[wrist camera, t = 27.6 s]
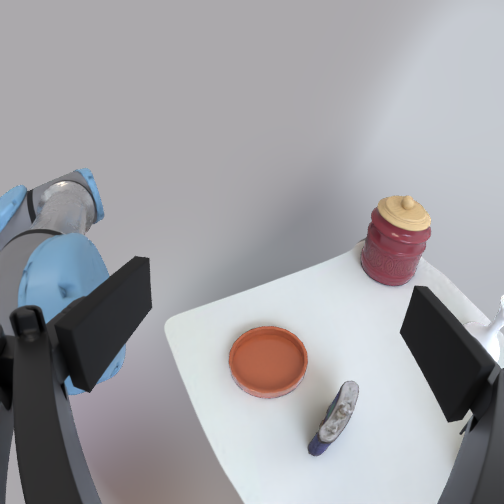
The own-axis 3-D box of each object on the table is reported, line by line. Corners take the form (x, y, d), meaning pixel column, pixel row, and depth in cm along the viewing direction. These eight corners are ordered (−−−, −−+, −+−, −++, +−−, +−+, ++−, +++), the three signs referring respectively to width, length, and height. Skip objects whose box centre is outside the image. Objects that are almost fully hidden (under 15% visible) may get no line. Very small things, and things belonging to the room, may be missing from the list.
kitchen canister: (394, 242, 67) (413, 178, 56) (423, 279, 58) (452, 213, 46) (349, 251, 65) (364, 182, 53) (377, 293, 56) (403, 220, 44)
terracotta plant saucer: (218, 384, 43) (216, 378, 41) (245, 325, 51) (245, 318, 50) (294, 407, 40) (295, 402, 38) (313, 343, 48) (315, 336, 47)
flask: (331, 400, 40) (349, 370, 33) (348, 408, 39) (370, 379, 32) (303, 452, 34) (316, 435, 27) (321, 460, 33) (340, 445, 26)
